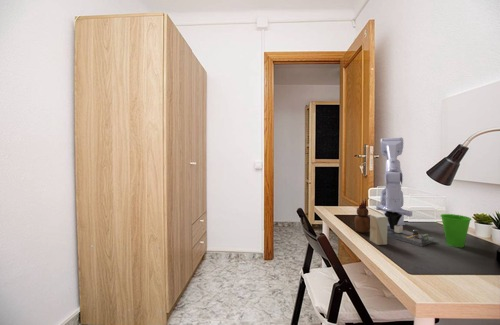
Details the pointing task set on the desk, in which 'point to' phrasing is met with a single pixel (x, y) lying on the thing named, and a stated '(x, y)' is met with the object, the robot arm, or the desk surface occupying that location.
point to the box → (378, 229)
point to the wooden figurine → (362, 219)
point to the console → (411, 237)
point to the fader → (398, 228)
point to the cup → (455, 229)
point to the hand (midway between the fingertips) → (393, 229)
